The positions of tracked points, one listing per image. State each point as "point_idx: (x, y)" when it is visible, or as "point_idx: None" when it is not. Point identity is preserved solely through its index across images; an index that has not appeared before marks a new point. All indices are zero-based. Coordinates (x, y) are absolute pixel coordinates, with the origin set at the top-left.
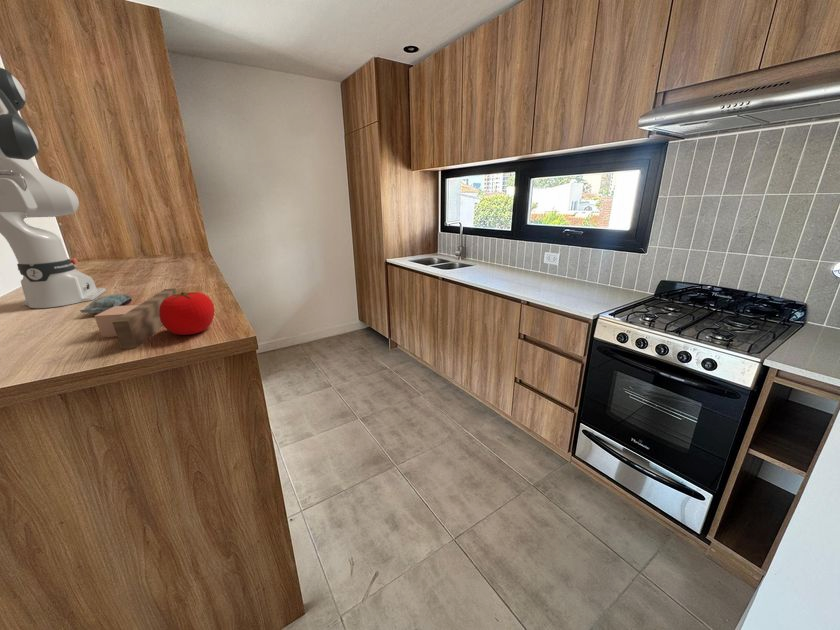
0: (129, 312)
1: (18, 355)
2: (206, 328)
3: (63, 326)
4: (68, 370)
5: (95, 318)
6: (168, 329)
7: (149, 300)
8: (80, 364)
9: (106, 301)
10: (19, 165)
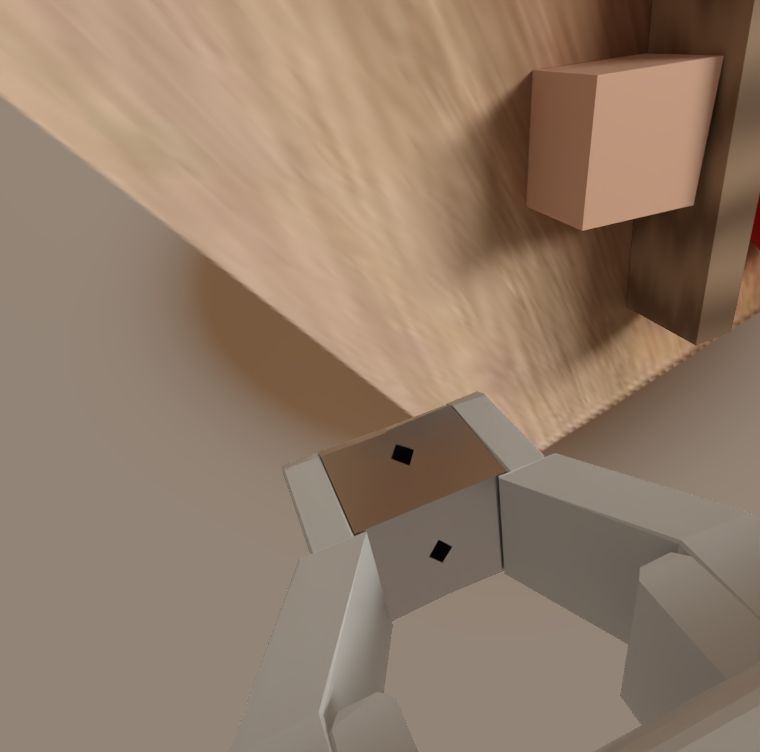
0: (718, 251)
1: (372, 354)
2: None
3: (259, 38)
4: (564, 415)
5: (575, 227)
6: (756, 245)
7: (755, 62)
8: (573, 388)
9: None
10: None
